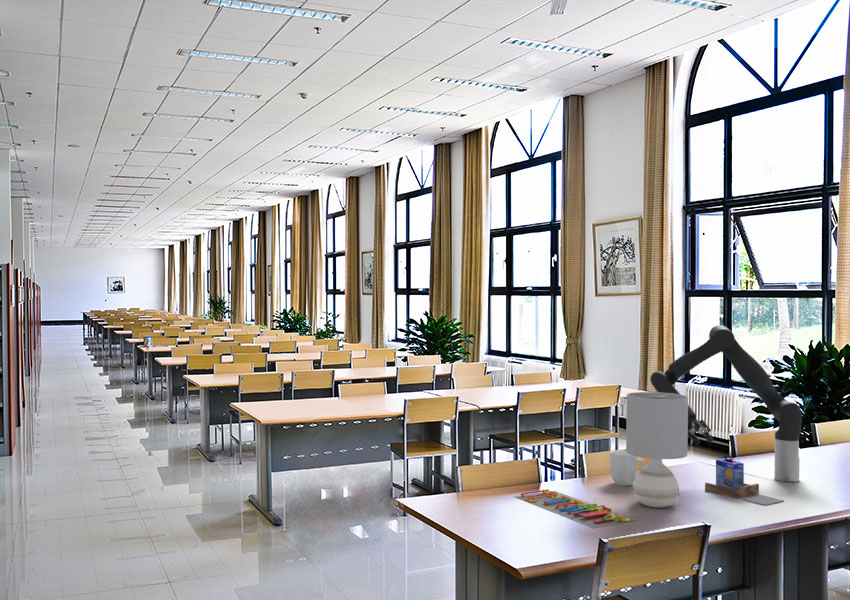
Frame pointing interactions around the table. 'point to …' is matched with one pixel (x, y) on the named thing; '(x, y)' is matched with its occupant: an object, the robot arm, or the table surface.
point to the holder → (734, 490)
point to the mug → (623, 467)
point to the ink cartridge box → (729, 473)
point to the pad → (762, 500)
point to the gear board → (575, 509)
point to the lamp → (656, 443)
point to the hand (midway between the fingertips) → (705, 442)
